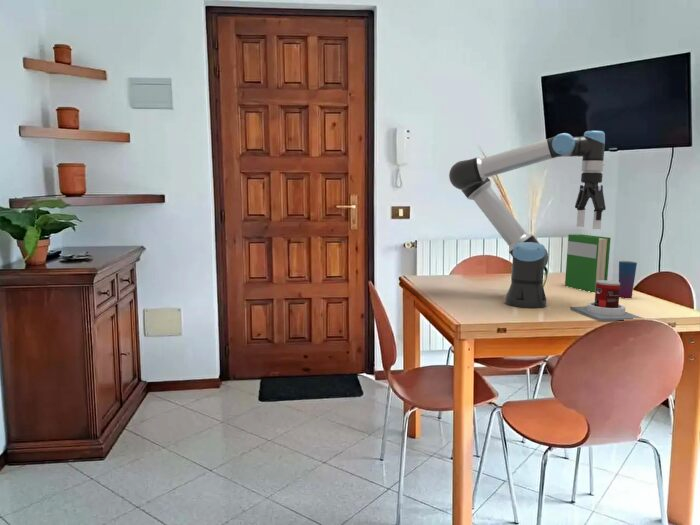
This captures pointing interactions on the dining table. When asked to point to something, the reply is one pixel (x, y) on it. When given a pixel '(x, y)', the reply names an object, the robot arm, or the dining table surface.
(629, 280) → the cup
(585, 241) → the hardback book
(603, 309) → the holder
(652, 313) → the dining table surface
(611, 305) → the canned food
